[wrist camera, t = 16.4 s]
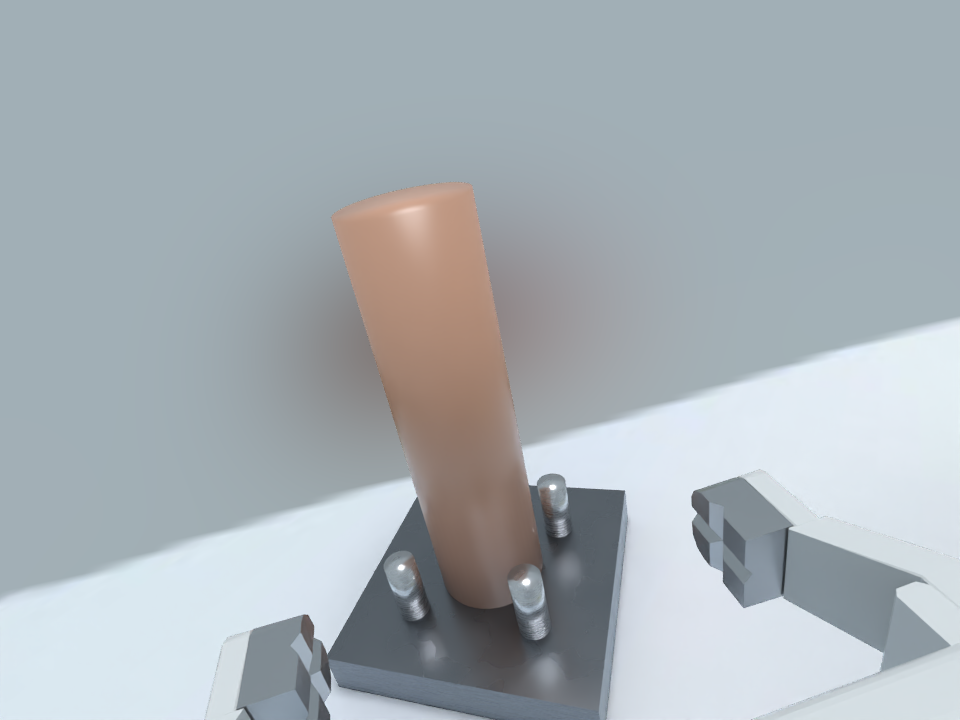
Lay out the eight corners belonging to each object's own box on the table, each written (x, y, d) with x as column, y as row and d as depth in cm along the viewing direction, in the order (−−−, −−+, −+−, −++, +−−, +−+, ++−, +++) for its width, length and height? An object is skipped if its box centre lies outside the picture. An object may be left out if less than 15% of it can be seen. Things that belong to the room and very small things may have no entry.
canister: (533, 520, 30) (468, 175, 22) (551, 597, 25) (477, 199, 17) (442, 538, 30) (342, 201, 22) (443, 618, 25) (319, 232, 17)
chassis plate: (627, 517, 31) (620, 446, 29) (603, 742, 21) (590, 659, 19) (434, 504, 36) (414, 440, 33) (339, 686, 26) (302, 613, 23)
